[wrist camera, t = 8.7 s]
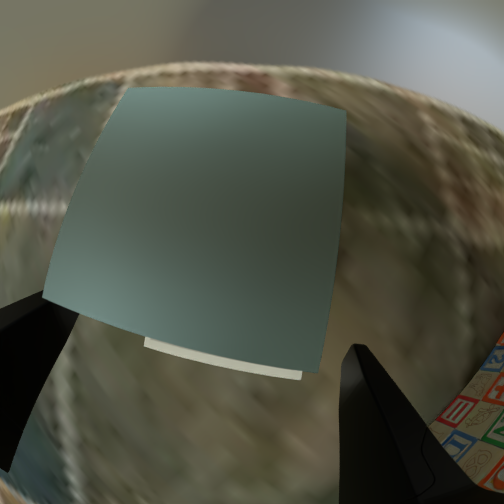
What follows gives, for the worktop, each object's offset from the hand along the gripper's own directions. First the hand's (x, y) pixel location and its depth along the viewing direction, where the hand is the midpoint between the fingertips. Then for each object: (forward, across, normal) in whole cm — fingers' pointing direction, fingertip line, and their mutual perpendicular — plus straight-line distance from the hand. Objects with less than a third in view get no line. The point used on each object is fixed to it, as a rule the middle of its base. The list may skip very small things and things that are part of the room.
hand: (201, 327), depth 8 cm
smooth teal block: (+8, 0, +4) cm, 9 cm away
